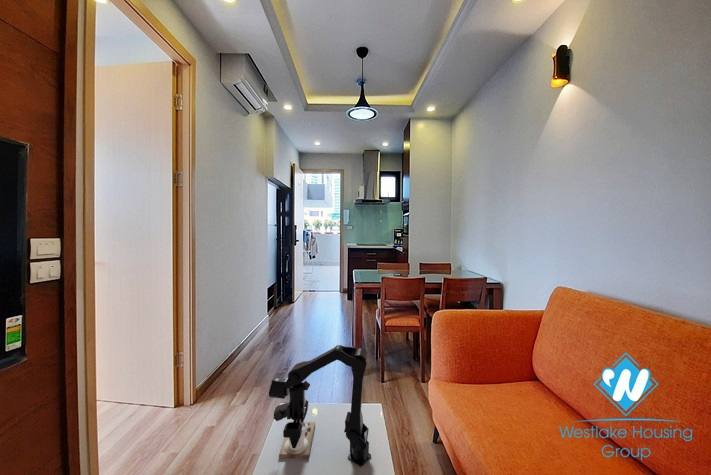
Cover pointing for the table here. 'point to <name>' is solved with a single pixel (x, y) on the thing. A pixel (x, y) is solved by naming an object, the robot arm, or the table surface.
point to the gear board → (305, 450)
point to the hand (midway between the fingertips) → (296, 438)
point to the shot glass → (301, 440)
